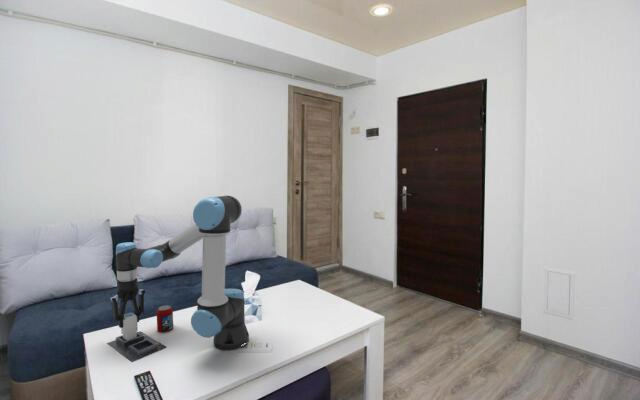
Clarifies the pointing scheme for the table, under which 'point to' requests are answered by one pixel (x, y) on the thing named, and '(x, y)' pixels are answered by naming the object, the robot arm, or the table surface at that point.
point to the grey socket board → (136, 346)
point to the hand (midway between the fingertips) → (129, 331)
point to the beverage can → (164, 319)
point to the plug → (130, 326)
